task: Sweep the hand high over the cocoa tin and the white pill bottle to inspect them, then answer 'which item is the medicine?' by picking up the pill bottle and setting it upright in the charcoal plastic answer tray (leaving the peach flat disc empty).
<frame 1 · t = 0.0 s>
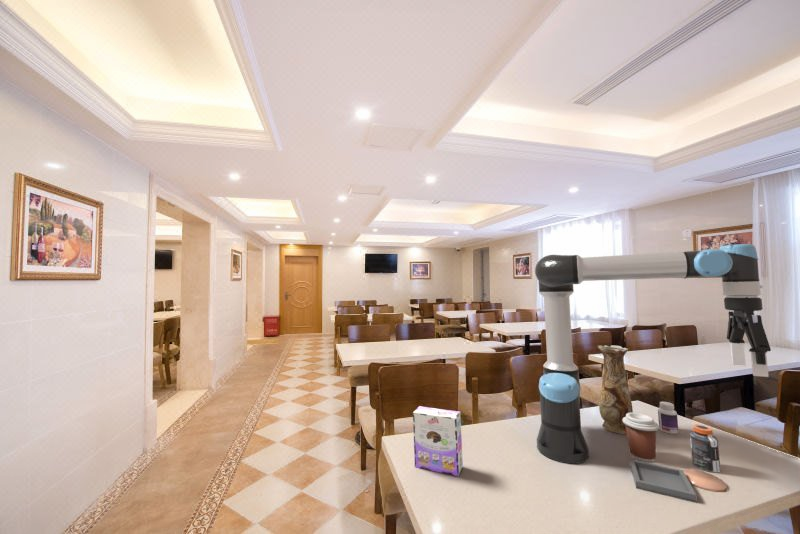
hand: (749, 370, 91), 28 cm above the table, fingers open, 13 cm apart
pill bottle: (706, 467, 91), on the table
candy box: (438, 467, 95), on the table
peach flat disc: (702, 480, 85), on the table
pill bottle 2: (668, 431, 114), on the table
answer tray: (660, 482, 85), on the table
coffee cup: (642, 456, 98), on the table
vase: (617, 429, 117), on the table
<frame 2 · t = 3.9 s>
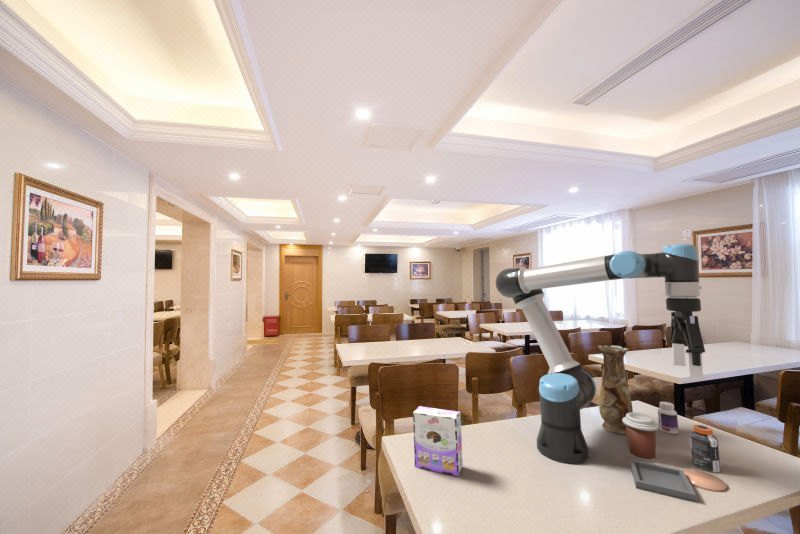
hand: (687, 371, 91), 28 cm above the table, fingers open, 13 cm apart
nothing on the table moved.
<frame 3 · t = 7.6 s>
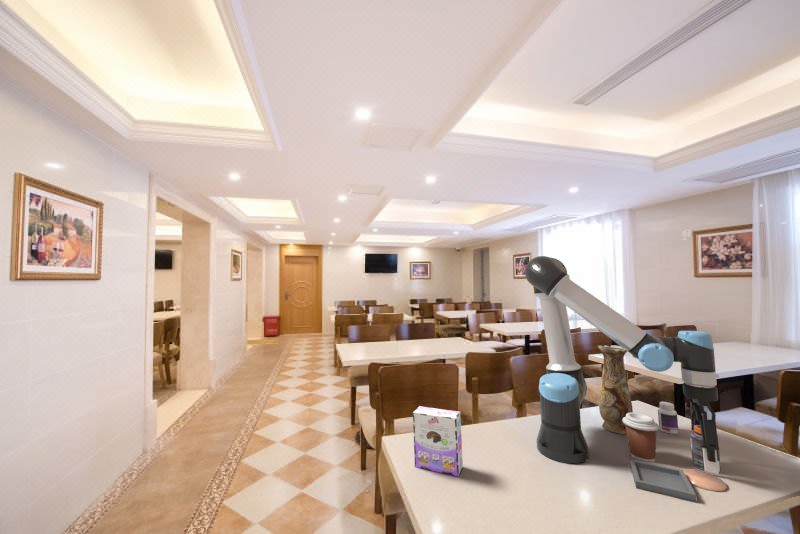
hand: (706, 465, 91), 1 cm above the table, fingers open, 7 cm apart
pill bottle: (706, 468, 91), on the table, touching gripper
everything else where it was.
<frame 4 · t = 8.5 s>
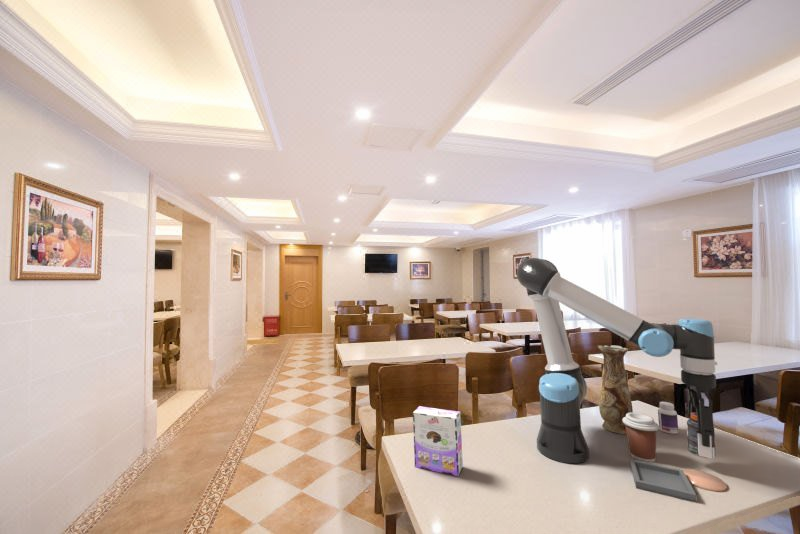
hand: (701, 451, 92), 4 cm above the table, fingers closed on pill bottle, 6 cm apart
pill bottle: (701, 454, 92), point 3 cm above the table, touching gripper
everything else where it was.
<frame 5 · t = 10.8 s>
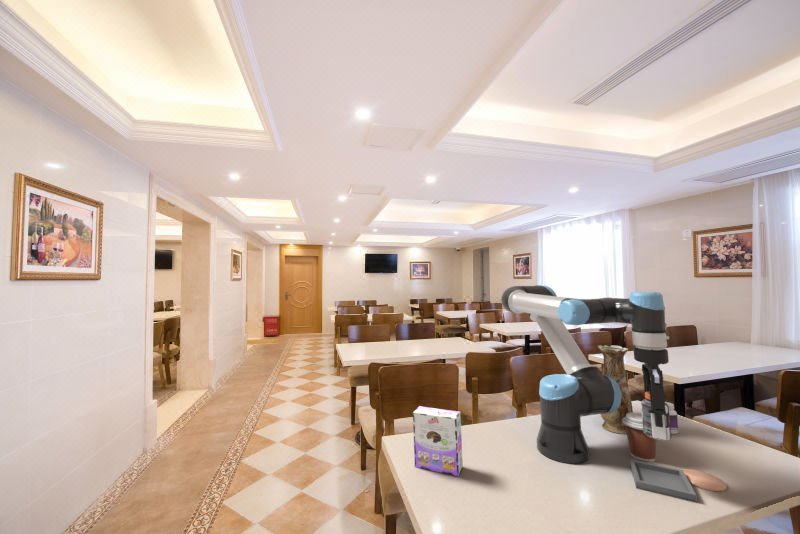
hand: (656, 432, 86), 13 cm above the table, fingers closed on pill bottle, 6 cm apart
pill bottle: (657, 436, 86), point 12 cm above the table, touching gripper
everything else where it was.
when the fingers open (3 cm above the table, at t = 13.2 s): pill bottle drops 2 cm, resting on answer tray.
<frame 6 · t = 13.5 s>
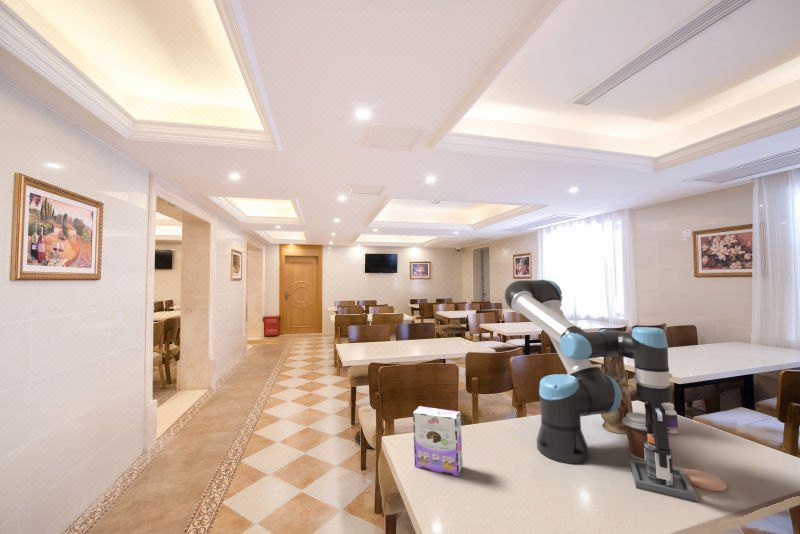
hand: (659, 468, 85), 4 cm above the table, fingers open, 10 cm apart
pill bottle: (660, 480, 85), resting on answer tray
everything else where it was.
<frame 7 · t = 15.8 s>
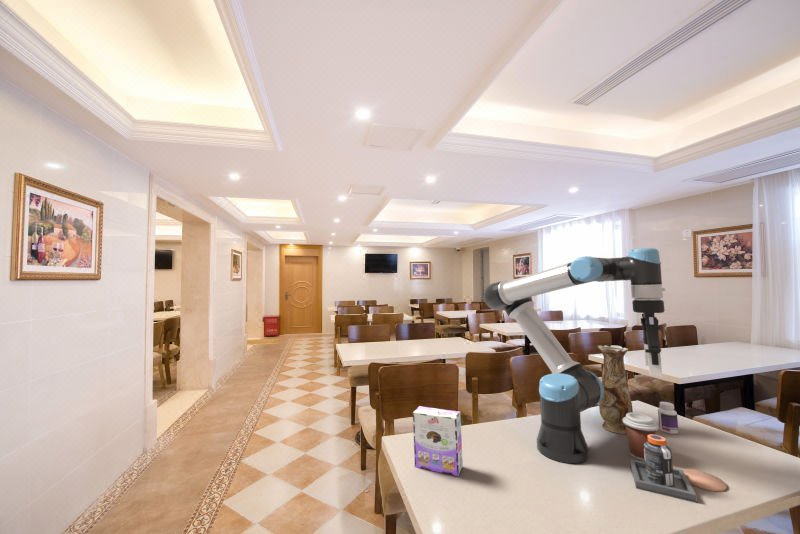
hand: (653, 370, 94), 28 cm above the table, fingers open, 13 cm apart
nothing on the table moved.
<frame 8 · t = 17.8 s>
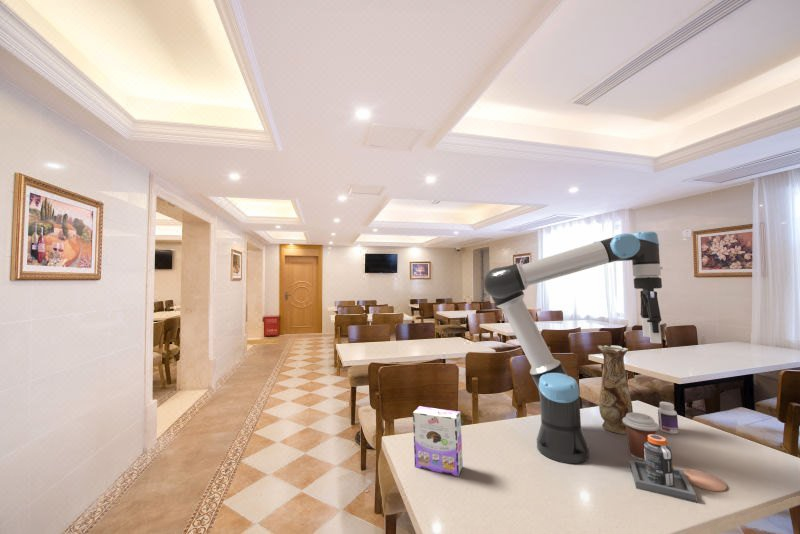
hand: (651, 339, 106), 35 cm above the table, fingers open, 13 cm apart
nothing on the table moved.
at the end: pill bottle inside the target area on the answer tray (0.1 cm from its centre), point 0.3 cm above the answer tray's base; pill bottle tilted 0°; the gripper is holding nothing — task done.
